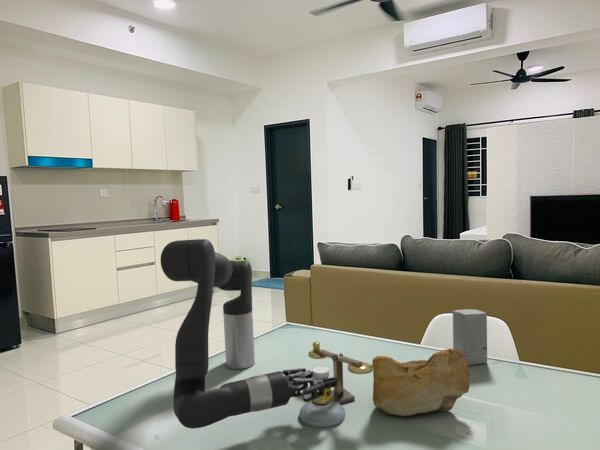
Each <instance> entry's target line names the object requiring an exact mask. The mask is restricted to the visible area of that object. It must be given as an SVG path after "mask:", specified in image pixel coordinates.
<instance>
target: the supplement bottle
mask: <svg viewBox="0 0 600 450" xmlns="http://www.w3.org/2000/svg"><path fill="white" fill-rule="evenodd" d="M312 371H313V377H312V379H313V380H322V379H326V378H330V369H329V368H328V367H325V366H324V367H323V366H318V367H314V368H313V369H312ZM314 385H317V384H314ZM314 385H313V386H314ZM331 390H332V388H328V389H324V395H323V396H321V397H318V398H316V399H313V400H311V402H312V405H313V406H315V407H317V408H325V407H328V406H330V404H331ZM317 393H318V392H317Z"/></svg>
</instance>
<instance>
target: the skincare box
mask: <svg viewBox="0 0 600 450" xmlns="http://www.w3.org/2000/svg"><path fill="white" fill-rule="evenodd" d="M487 318H488V315H487V312H485V311H482V310H479V309H477V308H476V309H475V308H472V309H465V308H464V309H456V310H452V342H453V343H452V345H453V346H452V349H457V350H459V351H461V353H462V354H463V356H464V358H465V360H466V362H467V366H474V365H481V364H487V363H488V326H487V325H488V324H487V323H488V321H487V320H488V319H487Z"/></svg>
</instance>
